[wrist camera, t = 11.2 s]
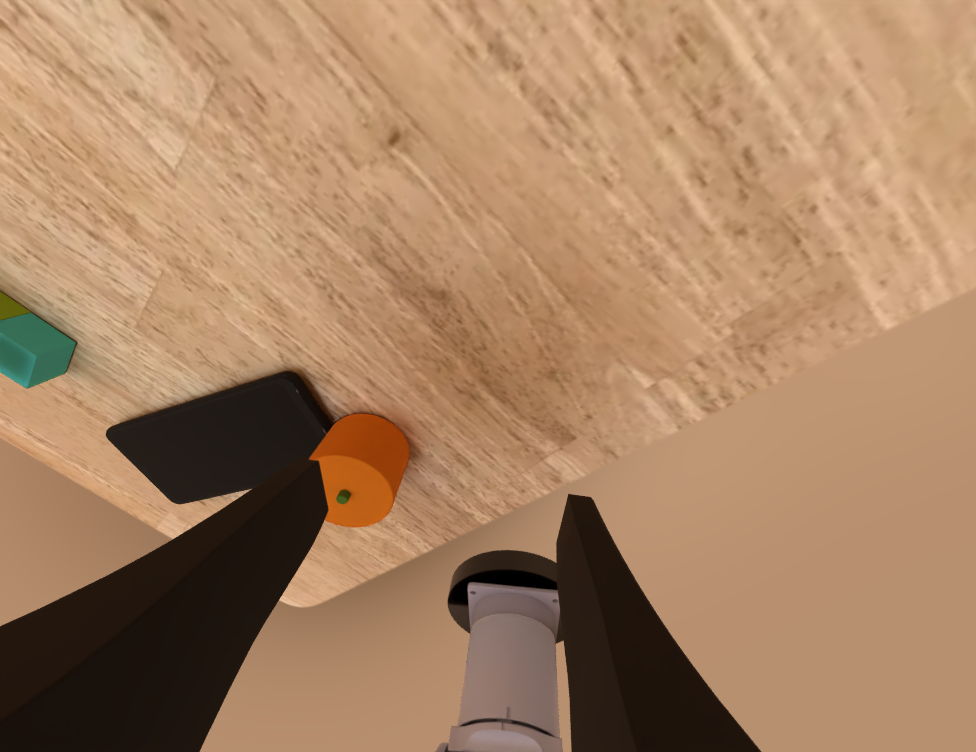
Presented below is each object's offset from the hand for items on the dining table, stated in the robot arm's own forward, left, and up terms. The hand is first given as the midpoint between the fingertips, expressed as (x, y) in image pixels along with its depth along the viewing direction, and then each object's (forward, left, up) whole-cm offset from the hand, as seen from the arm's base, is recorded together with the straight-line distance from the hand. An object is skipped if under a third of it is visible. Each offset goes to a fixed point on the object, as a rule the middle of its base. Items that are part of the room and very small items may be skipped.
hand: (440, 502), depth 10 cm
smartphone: (-6, +16, -9) cm, 20 cm away
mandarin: (-6, +7, -9) cm, 13 cm away
